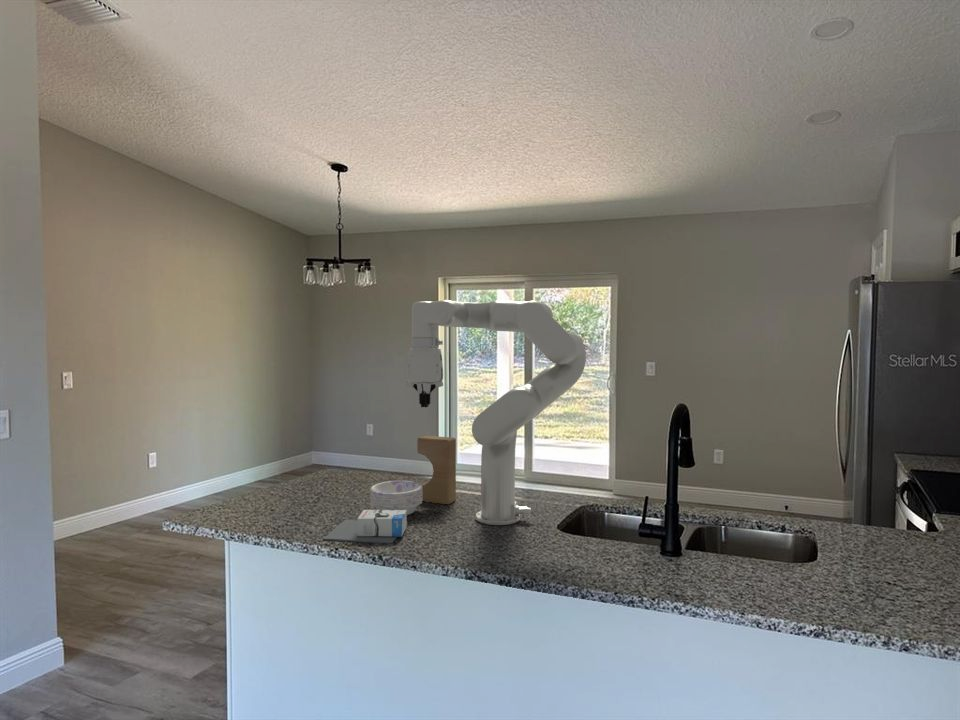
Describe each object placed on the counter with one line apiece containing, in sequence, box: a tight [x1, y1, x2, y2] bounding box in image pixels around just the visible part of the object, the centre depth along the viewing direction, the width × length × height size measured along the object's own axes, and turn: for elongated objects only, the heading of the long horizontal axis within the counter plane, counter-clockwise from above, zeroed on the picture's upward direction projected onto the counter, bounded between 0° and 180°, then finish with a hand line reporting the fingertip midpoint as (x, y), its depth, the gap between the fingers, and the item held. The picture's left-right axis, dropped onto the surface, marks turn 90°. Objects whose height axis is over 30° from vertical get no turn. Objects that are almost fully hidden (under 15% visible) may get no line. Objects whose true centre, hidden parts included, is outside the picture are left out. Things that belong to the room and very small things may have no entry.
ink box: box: [356, 509, 408, 538], centre depth 160 cm, size 8×5×12 cm
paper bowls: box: [369, 480, 423, 516], centre depth 179 cm, size 15×15×8 cm
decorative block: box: [417, 435, 457, 505], centre depth 191 cm, size 11×6×20 cm, turn 65°
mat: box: [322, 519, 409, 544], centre depth 162 cm, size 18×16×1 cm
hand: (424, 406), depth 179 cm, fingers closed
